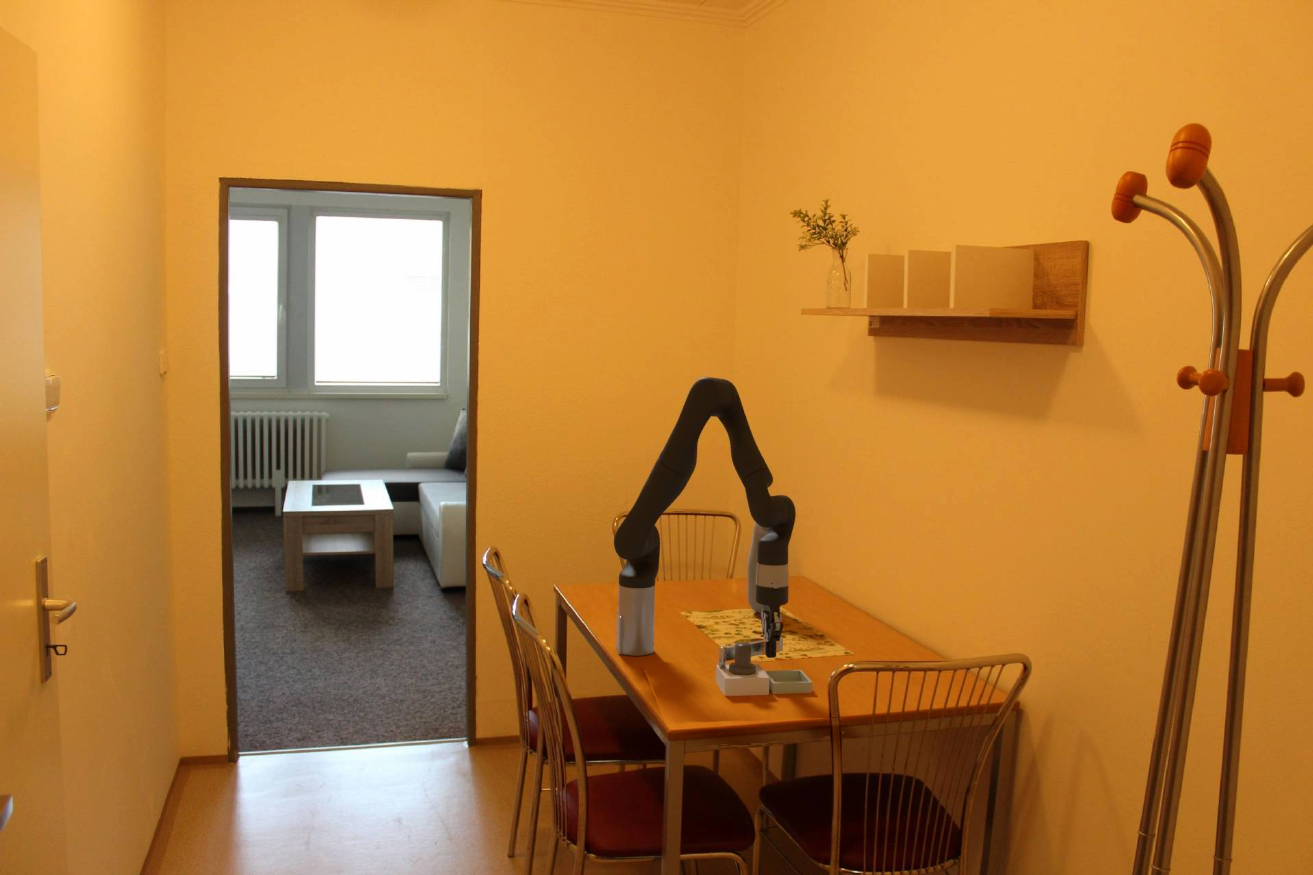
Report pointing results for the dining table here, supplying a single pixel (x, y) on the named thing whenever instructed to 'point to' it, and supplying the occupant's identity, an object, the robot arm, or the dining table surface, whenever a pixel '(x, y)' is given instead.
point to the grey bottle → (754, 567)
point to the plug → (742, 660)
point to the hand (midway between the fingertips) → (770, 656)
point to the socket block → (742, 682)
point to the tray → (789, 682)
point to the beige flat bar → (756, 649)
